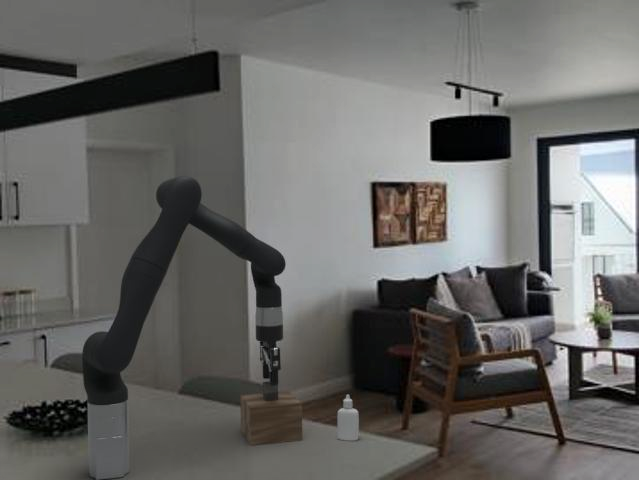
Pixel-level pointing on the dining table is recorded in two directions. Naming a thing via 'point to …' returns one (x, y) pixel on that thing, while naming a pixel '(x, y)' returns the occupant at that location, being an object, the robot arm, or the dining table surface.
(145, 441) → the dining table surface
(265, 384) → the cover
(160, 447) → the dining table surface
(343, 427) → the eye dropper bottle
